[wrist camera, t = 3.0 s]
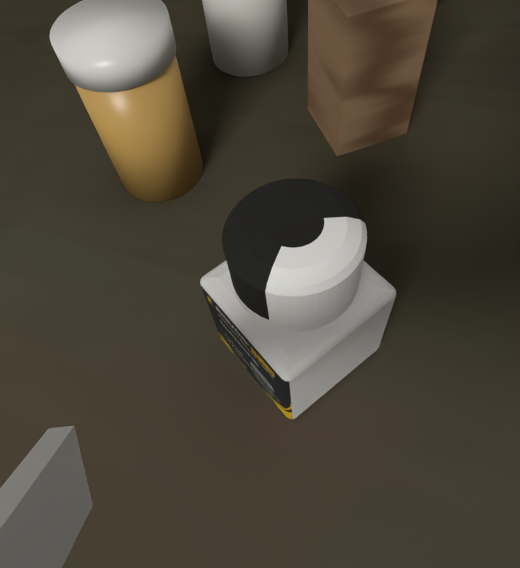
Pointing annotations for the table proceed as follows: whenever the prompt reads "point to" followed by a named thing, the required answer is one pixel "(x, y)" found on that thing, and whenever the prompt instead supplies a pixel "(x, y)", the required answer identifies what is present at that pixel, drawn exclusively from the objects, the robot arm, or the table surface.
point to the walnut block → (365, 67)
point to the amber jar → (132, 92)
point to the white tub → (247, 35)
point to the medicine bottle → (297, 290)
